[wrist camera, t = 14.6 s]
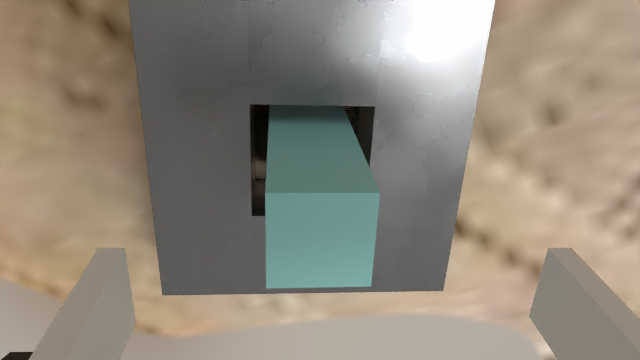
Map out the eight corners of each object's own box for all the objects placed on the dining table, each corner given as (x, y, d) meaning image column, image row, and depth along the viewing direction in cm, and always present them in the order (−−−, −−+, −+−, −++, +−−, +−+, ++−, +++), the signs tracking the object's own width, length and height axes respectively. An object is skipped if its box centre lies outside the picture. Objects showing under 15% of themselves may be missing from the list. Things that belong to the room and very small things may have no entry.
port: (151, -20, 25) (126, -14, 21) (461, -8, 26) (494, 0, 22) (177, 250, 31) (162, 295, 27) (422, 248, 33) (443, 290, 29)
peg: (270, 98, 28) (265, 193, 17) (340, 99, 28) (380, 193, 17) (270, 164, 29) (266, 288, 18) (336, 164, 30) (371, 286, 19)
